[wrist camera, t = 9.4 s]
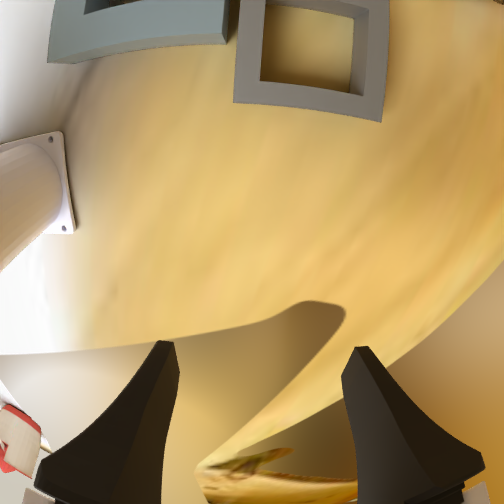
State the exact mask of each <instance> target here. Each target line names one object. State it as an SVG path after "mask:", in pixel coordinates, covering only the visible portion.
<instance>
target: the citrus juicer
mask: <svg viewBox="0 0 504 504" xmlns="http://www.w3.org/2000/svg"><path fill="white" fill-rule="evenodd" d="M40 443H41V428H40V426H39V425H38V424H37V423H36V422H34V421H33V420H32V419H31V417H30V416H28V415H26V414H24V413H22V412H21V411H19V410H17V409H16V408H14V407H12V406H11V405H6V406H4V407H3V408H2V409H1V410H0V467H1V469H2V471H3V472H4V473H7V472H12V471H15V470H17V471H19V472H20V473H22V474H24V475H25V476H27V477H29V478H31V477H32V474H33V470H34V467H35V463H36V460H37V457H38V454H39V450H40ZM31 479H32V478H31Z"/></svg>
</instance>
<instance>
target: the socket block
mask: <svg viewBox="0 0 504 504" xmlns="http://www.w3.org/2000/svg"><path fill="white" fill-rule="evenodd" d="M109 1H110V0H56V1H55V6H54V11H53V17H52V23H51V30H50V38H49V47H48V59H47V63H65V64H75V63H78V62H82V61H86V60H90V59H94V58H99V57H103V56H108V55H113V54H118V53H124V52H130V51H136V50H143V49H151V48H159V47H170V46H183V45H204V44H227V32H228V20H229V9H230V0H142V1H137V2H132V3H127V4H123V5H118V6H114V7H110V8H108V7H109Z"/></svg>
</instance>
